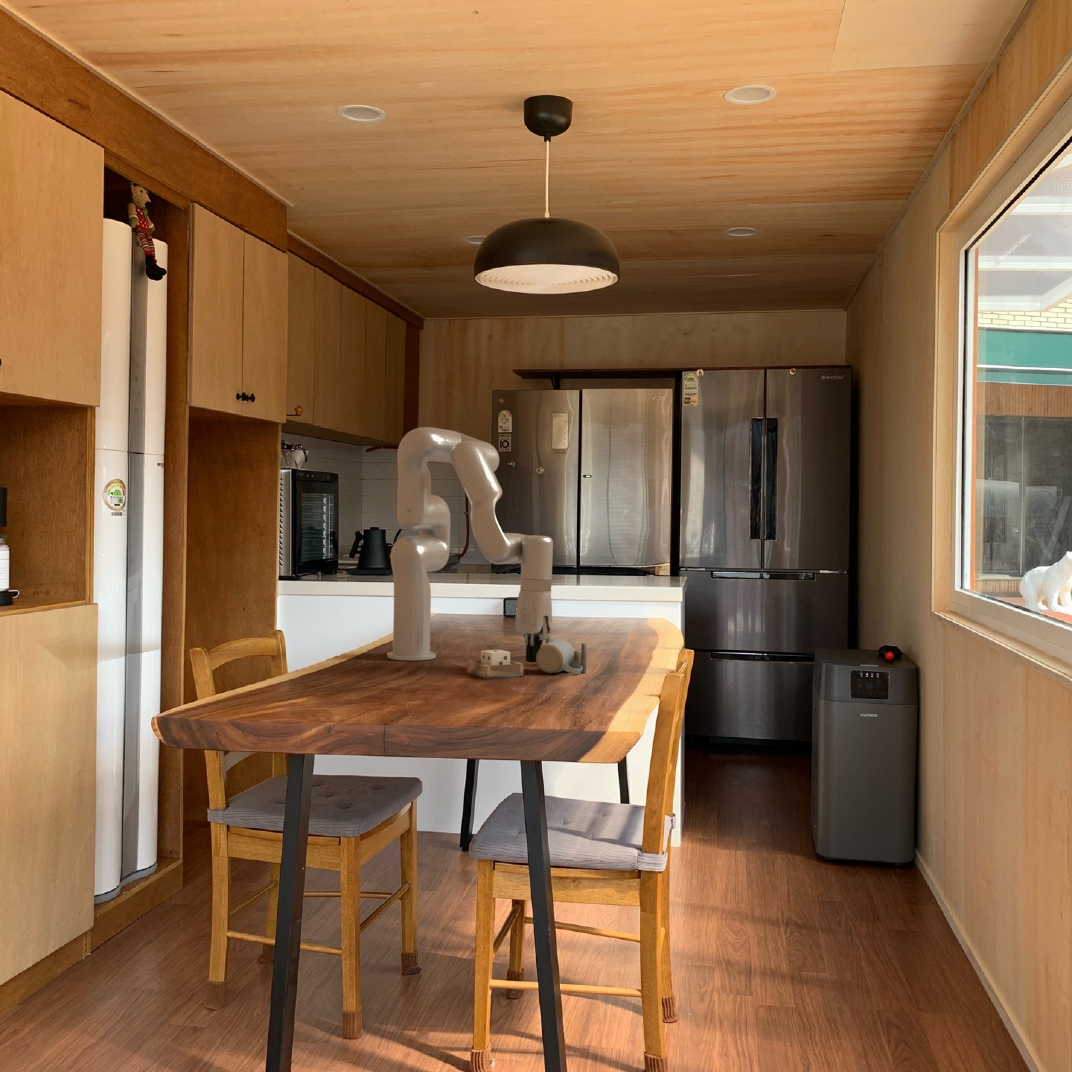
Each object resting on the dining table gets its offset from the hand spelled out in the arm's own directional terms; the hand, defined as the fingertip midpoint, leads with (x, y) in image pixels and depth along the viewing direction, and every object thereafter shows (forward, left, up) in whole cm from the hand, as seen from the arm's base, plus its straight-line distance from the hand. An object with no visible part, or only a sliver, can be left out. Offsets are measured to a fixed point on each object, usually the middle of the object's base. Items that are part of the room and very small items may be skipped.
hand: (532, 661), depth 253 cm
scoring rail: (+1, +9, -2) cm, 9 cm away
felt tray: (+3, -12, -2) cm, 13 cm away
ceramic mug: (+6, +4, -2) cm, 8 cm away
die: (+3, -12, -2) cm, 13 cm away
